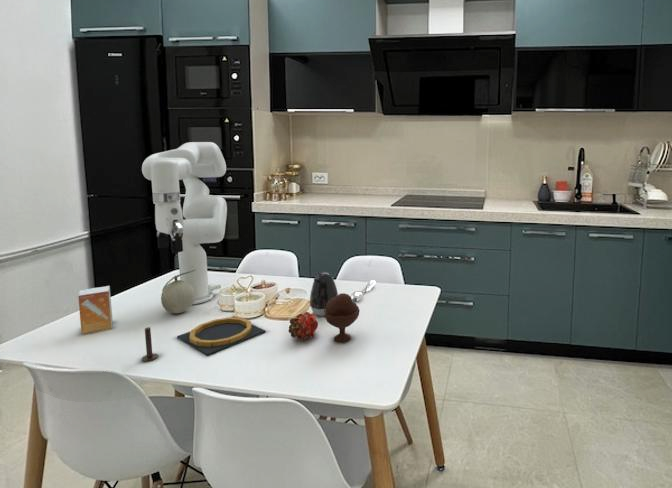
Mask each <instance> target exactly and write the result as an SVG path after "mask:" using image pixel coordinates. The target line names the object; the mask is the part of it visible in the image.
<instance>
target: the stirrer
mask: <svg viewBox="0 0 672 488" xmlns="http://www.w3.org/2000/svg"><path fill="white" fill-rule="evenodd" d="M376 283H377V282H376V281H375V280H369V281H368V282H367V284H366V286H365V289H364V290H362V291H360V290H357V291H354V292H353V293H351V295H350V297H351V298H352V302H354V303H357V302H359V301H360V300H361V299H362V298H363V296H364V293H367V292H370V291H371V290H372V289H373V288H374V287H375V286H376Z"/></svg>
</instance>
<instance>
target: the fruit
mask: <svg viewBox="0 0 672 488" xmlns="http://www.w3.org/2000/svg"><path fill="white" fill-rule="evenodd" d="M193 271H196V270H193ZM193 271H190V272H193ZM190 272H186V273H182V274H180V273H179V274H177V275H175V276H173V277H172V278H170V279H169V280H168V281H167V282H166V283H165V285H164V286H163V288H162V290H161V291H162V292H161V295H160V302H161V305H162V307H163V308H164V309H163V310H165V311H166V312H168V313H171V314H174V315H175V314H181V313H184V312H187V311H189V309H190V308H191V307H192V304H193V301H194V296H195V294H194V289H193V287H192V286H191V284H189V283H188V282H187V281H183V280H180V279H178V278H180V276H181V275H184V274H187V273H190ZM173 280H174V281H173ZM193 305H194V304H193Z"/></svg>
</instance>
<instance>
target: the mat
mask: <svg viewBox="0 0 672 488" xmlns="http://www.w3.org/2000/svg"><path fill="white" fill-rule="evenodd" d="M232 317H235V318H238V317H237V316H235V315H233V316H232ZM251 327H252V331H251V332H250V333H249V334H248V335H247V336H246V337H245V338H243V339H240V340H238V341H235V342H233V343H229V344H226V345H220V346H214V347H213V346H212V347H206V346H196V345H195V344H193V343H191V342H190V341H189V336H190V331H187V332H184V333H182V334H179V335H177V336H176V338H177V339H178V340H179V341H181V342H183V343H184V344H187V345H189V346H190V347H191V348H193V349H195V350H197V351H198V352H200V353H202V354H203V355H205V356H211V355H214V354H215V353H218V352H221V351H224V350H226V349H228V348H231V347H233V346H236V345H238V344H240V343H243V342H246V341H248V340H251V339H252V338H255V337H258V336H260V335H263V334H265V333H267V331H266V330H265V329H263V328H262V327H261V328H260V327H258V326H257V325H254V324H253V323H251ZM246 328H247V326H245V325H242V324H240V323H224V324H218V325H214V326H211V327H208V328H205V329H203V330H202V331H200V332H199V333H197V334H196V336H195V337H197V338H199V339H200V340H219V339H225V338H229V337H232V336H234V335H237V334H239V333H241V332H242V331H243V330H245V329H246Z"/></svg>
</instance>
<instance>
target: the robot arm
mask: <svg viewBox="0 0 672 488" xmlns="http://www.w3.org/2000/svg"><path fill="white" fill-rule="evenodd" d="M141 172H142V175H143V177H144V178H145V179H147V180H148V181H151V190H152V191H151V192H152V202H153V204H154V224H155V230H156V238H157V248H158V249H165V248H169V247H171V253H172V254H177V257H178V269H179V270H178V273H179V274H182V273H186V272H190V271H193V270H196V271H193V272H190V273H187V274H184V275H181V276H179V280H183V281H187V282H188V283H189V284H191V286H192V287H193V289H194V294H195V296H194V301H193V304H192V305H198V304H199V305H200V304H203V303H206V302H208V301H210V300H212V299H213V298H214V291H216V290H219V289H222V286H221V283H216V284H214V283H212V284H209V275H208V274H209V273H208V259H207V258H208V257H207V252H206V251H205V249H204V248H203V246H201V244H215V243H220V242H221V241H223V239H224V238H225V234H226V225H227V217H228V204H227V201H226V199H225V198H223V197H222V196H217V195H216V196H215V195H214V196H210V189H209V187H208V185H206V183H204V182H203V181H202V180H201V179H199V178H222V177H223V176H224V175H225V174H226V172H227V164H226V160H225V158H224V155H223V152H222V151H221V148H220V146H219V145H217V143H215V142H212V141H190V142H189V141H188V142H185V143H183V144H181V145H180V146H179V147H177V148H175V149H174V148H173V149H169V150H165V151H161V152H156V153H153V154H150V155H149V156H147V157H146V158H145V159H144V161H143V162H142V165H141ZM180 181H182V182H183V184H184V188H185V194H184V195H185V196H184V201H183V204H182V205H183V207H182V205H181V191H180ZM169 235H170V237H169ZM170 239H171V240H170ZM192 305H191V306H192Z"/></svg>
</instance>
